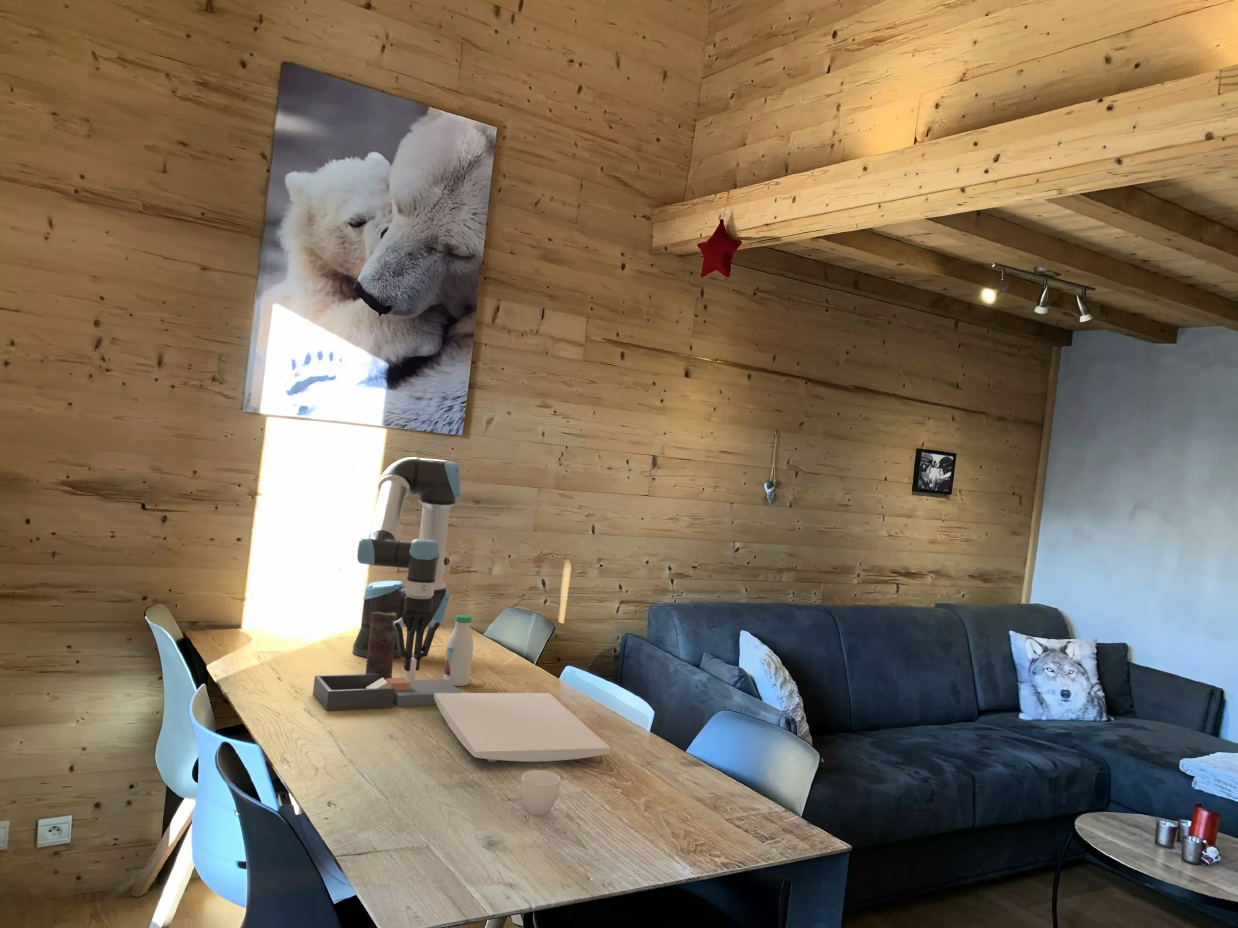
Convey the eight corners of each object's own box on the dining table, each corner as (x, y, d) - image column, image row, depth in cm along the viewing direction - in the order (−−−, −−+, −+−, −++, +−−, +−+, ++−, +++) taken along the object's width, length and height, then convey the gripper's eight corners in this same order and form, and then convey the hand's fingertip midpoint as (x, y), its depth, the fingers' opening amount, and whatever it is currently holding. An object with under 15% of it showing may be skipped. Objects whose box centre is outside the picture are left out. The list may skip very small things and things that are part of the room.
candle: (358, 680, 257) (366, 611, 257) (374, 676, 264) (382, 608, 263) (380, 686, 254) (388, 615, 254) (396, 681, 261) (404, 612, 261)
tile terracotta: (385, 685, 244) (386, 678, 244) (403, 684, 247) (404, 677, 247) (391, 690, 240) (392, 683, 240) (409, 689, 243) (410, 682, 243)
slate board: (382, 691, 248) (383, 681, 248) (444, 689, 258) (445, 678, 258) (397, 706, 236) (398, 695, 236) (461, 703, 246) (463, 692, 246)
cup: (530, 821, 173) (534, 786, 173) (505, 801, 182) (509, 768, 181) (564, 815, 178) (567, 781, 178) (538, 796, 186) (541, 764, 186)
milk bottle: (472, 681, 269) (479, 615, 269) (465, 687, 262) (472, 619, 262) (447, 678, 270) (454, 612, 270) (439, 684, 262) (447, 616, 262)
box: (312, 694, 239) (314, 675, 239) (376, 691, 248) (378, 673, 248) (326, 710, 226) (328, 691, 226) (392, 707, 235) (394, 688, 235)
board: (432, 710, 238) (434, 692, 238) (547, 709, 250) (549, 692, 250) (473, 772, 196) (475, 751, 196) (608, 767, 209) (610, 747, 209)
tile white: (368, 693, 242) (365, 687, 241) (385, 683, 244) (382, 677, 244) (373, 698, 238) (370, 692, 237) (390, 688, 240) (387, 682, 239)
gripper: (400, 598, 238) (390, 687, 238) (446, 599, 245) (437, 685, 245) (391, 593, 245) (382, 679, 245) (437, 593, 251) (428, 677, 252)
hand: (409, 682), depth 245 cm, fingers closed
